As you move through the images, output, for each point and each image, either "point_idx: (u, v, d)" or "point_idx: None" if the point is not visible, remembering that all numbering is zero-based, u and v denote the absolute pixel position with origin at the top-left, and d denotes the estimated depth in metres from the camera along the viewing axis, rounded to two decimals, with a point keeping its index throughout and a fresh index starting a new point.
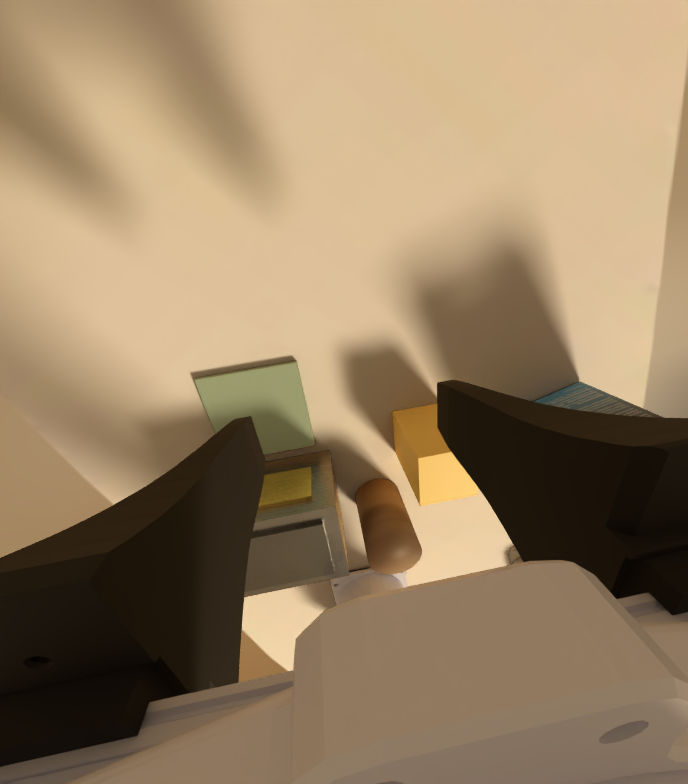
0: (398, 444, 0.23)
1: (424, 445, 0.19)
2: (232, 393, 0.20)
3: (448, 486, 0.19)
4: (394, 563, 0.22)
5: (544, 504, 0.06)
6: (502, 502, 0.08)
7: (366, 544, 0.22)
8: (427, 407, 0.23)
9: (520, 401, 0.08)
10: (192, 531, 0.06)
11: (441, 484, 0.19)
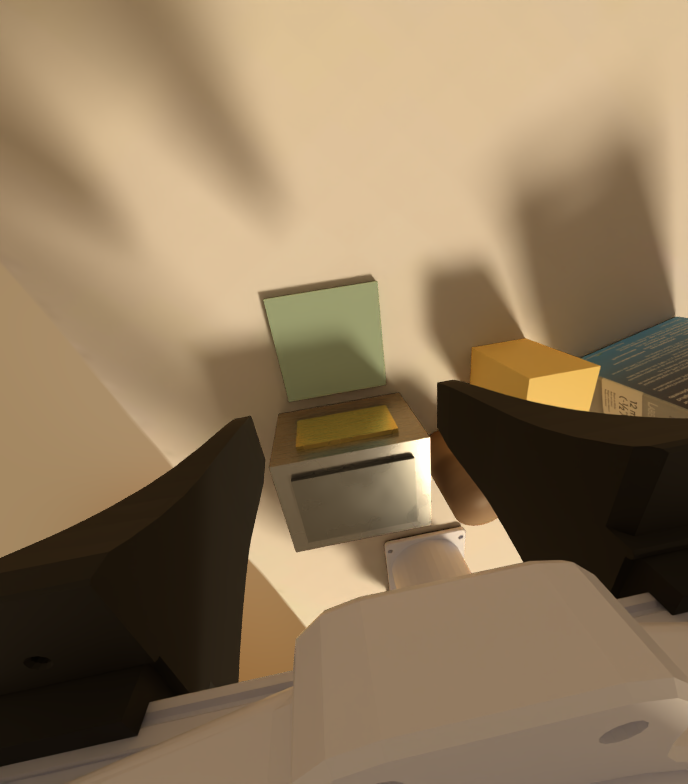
0: (479, 383, 0.21)
1: (529, 369, 0.16)
2: (303, 317, 0.18)
3: None
4: (480, 512, 0.19)
5: (544, 504, 0.06)
6: (502, 502, 0.08)
7: (448, 491, 0.19)
8: (511, 342, 0.21)
9: (520, 401, 0.08)
10: (192, 531, 0.06)
11: None
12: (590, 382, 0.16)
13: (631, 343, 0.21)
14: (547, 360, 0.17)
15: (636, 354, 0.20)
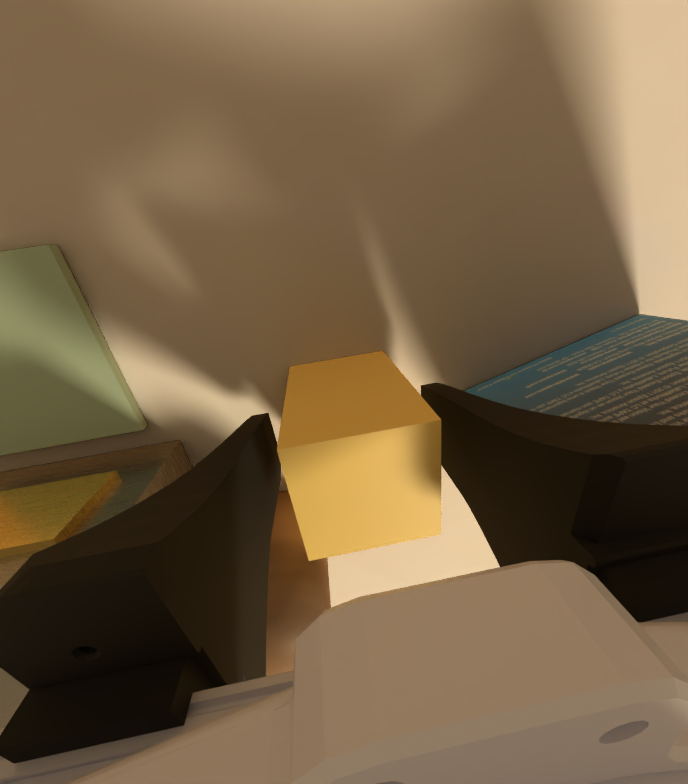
0: None
1: (309, 420, 0.08)
2: None
3: (368, 516, 0.08)
4: (280, 667, 0.11)
5: (516, 510, 0.06)
6: (480, 506, 0.08)
7: None
8: (355, 358, 0.12)
9: (497, 405, 0.08)
10: (224, 525, 0.06)
11: (351, 513, 0.08)
12: (427, 452, 0.07)
13: (562, 358, 0.12)
14: (364, 398, 0.09)
15: (564, 380, 0.11)
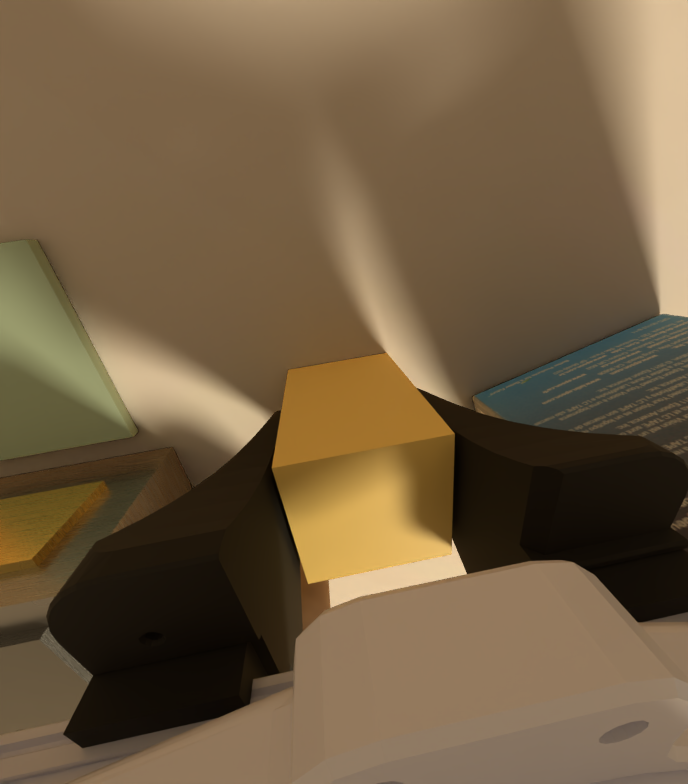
0: None
1: (308, 433, 0.07)
2: None
3: (372, 537, 0.07)
4: None
5: (477, 518, 0.06)
6: None
7: None
8: (357, 360, 0.11)
9: (465, 411, 0.08)
10: (268, 516, 0.06)
11: (354, 534, 0.07)
12: (438, 469, 0.07)
13: (580, 361, 0.12)
14: (368, 407, 0.08)
15: (584, 385, 0.10)
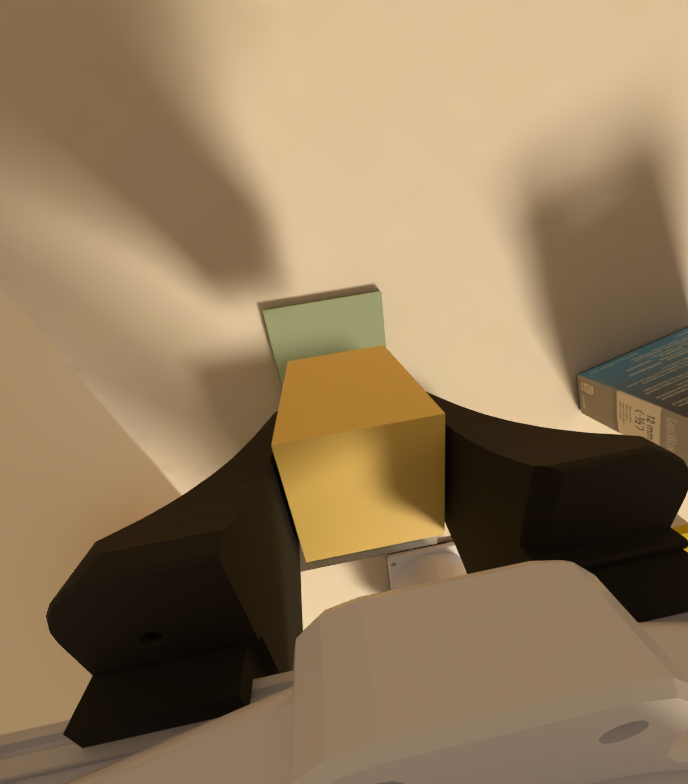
0: None
1: (306, 415, 0.08)
2: (304, 329, 0.17)
3: (368, 516, 0.08)
4: None
5: (477, 518, 0.06)
6: (449, 513, 0.08)
7: None
8: (355, 352, 0.12)
9: (465, 411, 0.08)
10: (268, 516, 0.06)
11: (350, 512, 0.08)
12: (430, 448, 0.07)
13: (645, 353, 0.20)
14: (364, 392, 0.08)
15: (652, 366, 0.19)
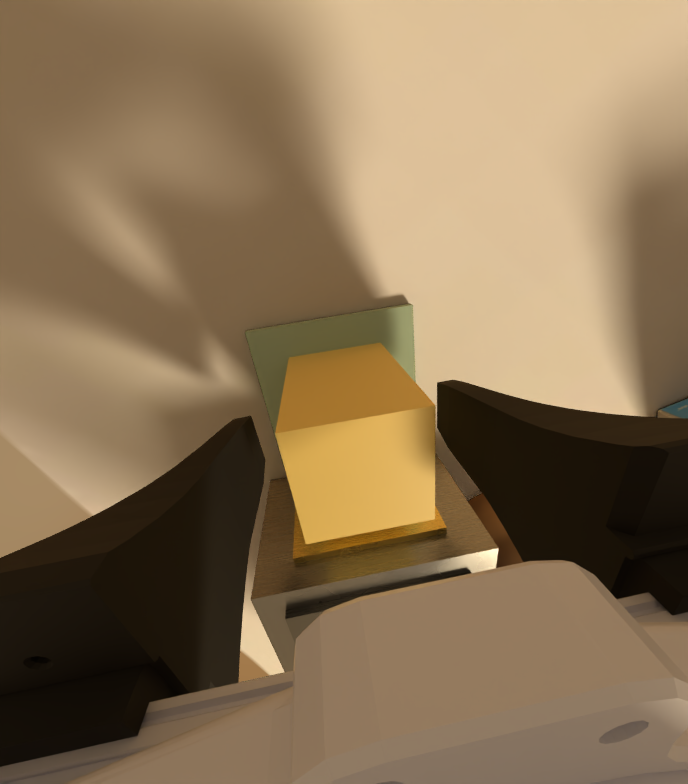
0: None
1: (307, 406, 0.08)
2: None
3: (364, 500, 0.08)
4: None
5: (544, 504, 0.06)
6: (502, 502, 0.08)
7: None
8: (353, 349, 0.12)
9: (520, 401, 0.08)
10: (192, 531, 0.06)
11: (347, 497, 0.08)
12: (421, 437, 0.08)
13: None
14: (361, 386, 0.09)
15: None
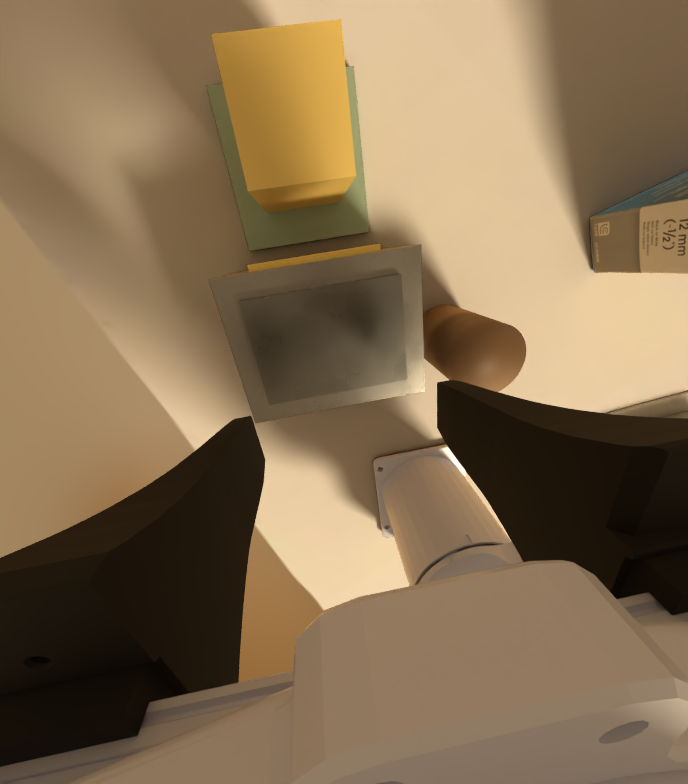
0: None
1: None
2: None
3: (292, 138, 0.10)
4: (486, 376, 0.16)
5: (544, 504, 0.06)
6: (502, 502, 0.08)
7: (446, 351, 0.16)
8: None
9: (520, 401, 0.08)
10: (192, 531, 0.06)
11: (278, 131, 0.10)
12: (333, 60, 0.09)
13: (672, 180, 0.17)
14: None
15: (682, 182, 0.16)
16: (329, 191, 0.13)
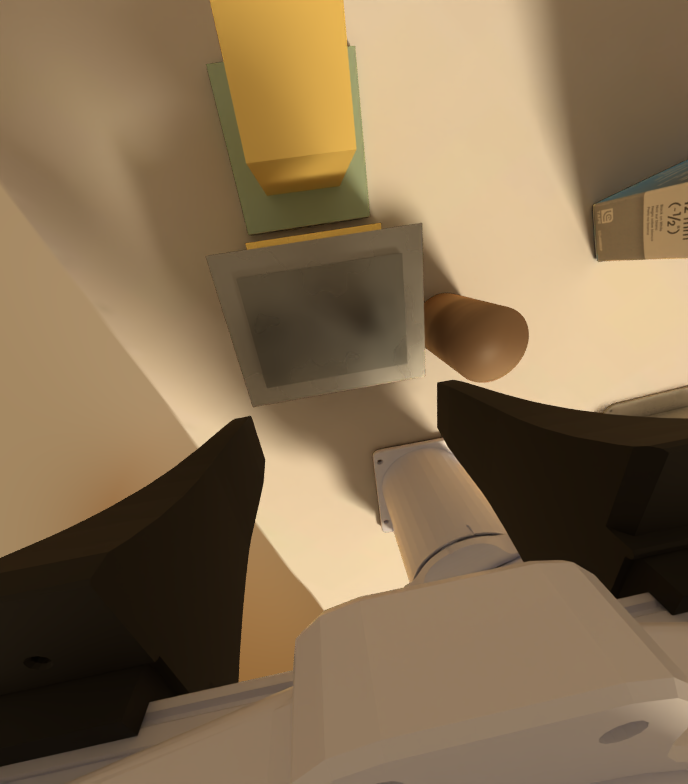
0: None
1: None
2: None
3: (291, 109, 0.10)
4: (488, 361, 0.15)
5: (544, 504, 0.06)
6: (502, 502, 0.08)
7: (447, 336, 0.15)
8: None
9: (520, 401, 0.08)
10: (192, 531, 0.06)
11: (277, 101, 0.10)
12: (334, 27, 0.09)
13: (676, 166, 0.17)
14: None
15: (687, 167, 0.16)
16: (329, 169, 0.13)
